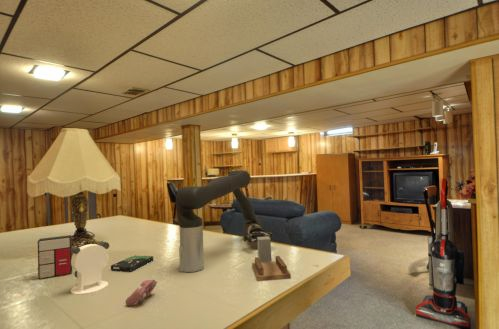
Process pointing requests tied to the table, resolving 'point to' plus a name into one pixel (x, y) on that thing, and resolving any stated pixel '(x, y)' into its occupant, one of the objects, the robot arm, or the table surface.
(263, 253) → the block
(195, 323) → the table surface
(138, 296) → the pink lumpy piece
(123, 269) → the disk drive
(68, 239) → the grey and red box
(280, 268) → the walnut stand
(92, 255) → the white rounded upright piece
